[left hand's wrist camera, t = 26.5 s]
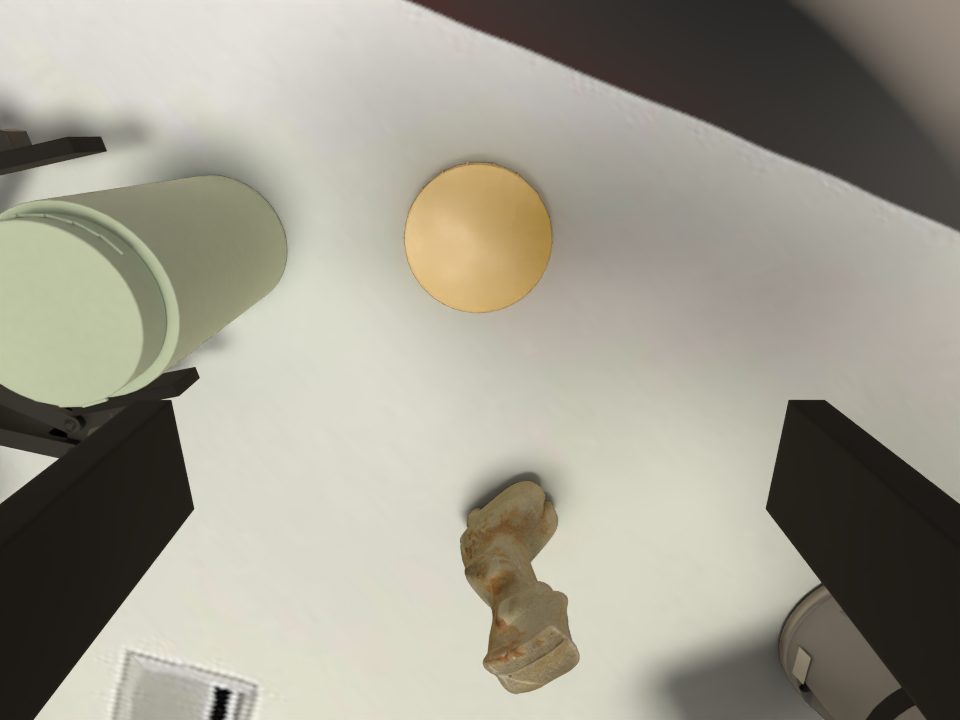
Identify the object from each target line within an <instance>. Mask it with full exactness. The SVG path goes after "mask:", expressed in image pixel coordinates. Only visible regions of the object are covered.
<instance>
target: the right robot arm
mask: <svg viewBox="0 0 960 720" xmlns="http://www.w3.org/2000/svg"><path fill="white" fill-rule="evenodd" d="M106 151H107V150H106V148H105V145H104V143H103V140H102V138H101V137H65V138H61V139H57V140H52V141H48V142H44V143H39V144H35V145H32V144H31V141H30V139H29V137H28V135H27V133H26V131H22V130H16V129H0V175H4V174H8V173H13V172H17V171H22V170H26V169H31V168H35V167H39V166H44V165H48V164H53V163H57V162H61V161H66V160H70V159H75V158H79V157H84V156H88V155H92V154H97V153H101V152H106ZM199 378H200V377H199V375H198V372H197V370H196V368H195V367H193V368H188V369H183V370H178V371H173V372H167V373H163V374H161V375H160V376H159V377H157V378H156V379H155V380H153V381H152V382H151V383H149V384H148V385H146V386H145V387H143V388H141V389H139V390H137V391H134V392H131V393H128V394H125V395H120V396H115V397H107V398H108V399H109V400H108V401H106V402H102V403H99V404H95V405H91V406H88V407H84V408H83V407H59V406H58V405H53V404H47V403H42V402H37V401H34V400H32V399H30V398H27V397H25V396H22V395H20V394H18V393H16V392H14V391H12V390H10V389H8V388H6V387H5V386H3V385H2V384H0V445H1V446H5V447H10V448H15V449H19V450H24V451H28V452H33V453H37V454H42V455H47V456H51V457H56V458H61V457H62V456H63V455H65V454H66V453H67V452H68V451H70V450H71V449H72V448H74V447H75V446H76V445H77V444H79V443H80V442H81V441H83V440H84V439H85V438H87V437H88V436H89V435H90V434H92V433H93V432H94V431H96V430H97V429H98V428H100V427H101V426H102V425H103V424H105V423H106V422H107V421H109V420H110V419H111V418H112V417H114V416H115V415H116V414H118V413H119V412H120V411H122V410H123V409H124V408H125V407H127V406H128V405H129V404H131V403H132V402H133V401H135V400H161V399H167V398H172V397H177V396H180V395H181V394H182V393H183V392H184V391H185V390H187V389H188V388H189V387H190V386H191V385H192V384H193V383H195V382H196V381H197V380H198V379H199Z"/></svg>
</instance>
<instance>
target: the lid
mask: <svg viewBox="0 0 960 720" xmlns="http://www.w3.org/2000/svg"><path fill="white" fill-rule="evenodd" d="M549 218H550V216H549V215H548V213H547V210H546V208H545V206H544V204H543V202H542V200H541V199H540V197H539V196H538V192H537V191H536V190H535V191H534V189H533V188H532V187H531V186H530V185H529V184H528V183H527V182H526V181H525V180H524V179H523V178H521V177H520V176H519V174H518V173H517V172H516V173H514V172H512V171H510V170H508V169H506V168H504V167H501V166H498V165H495V164H494V163H492V164H489V163H468V162H466V164H462V165H458V166H455V167H453V168H450V169H448V170H446V171H444V170H443V171H442V172H441V174H439V175H438V176H437V177H435V178H434V179H433V180H432V181H431V182H430V183H429V184H428V185H426V186H425V187H423V188H422V189H421V192H420V193H419V195H418V196H417V198H416V199H415V201H414V203H413V204H412V207H411V209H410V211H409V212H408V217H407V221H406V226H405V234H404V243H405V251H406V256H407V260H408V263H409V265H410V268H411V270H412V272H413V274H414V276H415V278H416V279H417V281H418V282H419V283H420V285H421V286H422V287H423V288H424V289H425V290H426V291H427V292H428V293H429V294H430V295H431V296H432V297H434V298H435V299H436V300H438V301H439V302H441V303H443V304H444V305H447V306H449V307H451V308H454V309H457V310H460V311H465V312H474V313H483V312H491V311H496V310H500V309H503V308H505V307H508V306H510V305H512V304H514V303H516V302H517V301H519V300H520V299H522V298H523V297H524V296H525V295H527V294H528V293H529V292H530V291H531V290H532V289H533V288H534V286H535V285H536V284H537V283H538V281H539V280H540V278H541V277H542V275H543V273H544V271H545V269H546V266H547V264H548V261H549V257H550V253H551V246H552V230H551V224H550V220H549Z"/></svg>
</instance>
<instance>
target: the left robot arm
mask: <svg viewBox="0 0 960 720" xmlns="http://www.w3.org/2000/svg"><path fill="white" fill-rule="evenodd" d="M193 510H194V505H193V501H192V496H191V491H190V486H189V482H188V477H187V472H186V467H185V463H184V458H183V453H182V449H181V444H180V439H179V434H178V430H177V425H176V420H175V415H174V411H173V406H172V401H171V400H135V401H133V402H132V403H131V404H129V405H128V406H127V407H125V408H124V409H123V410H122V411H120V412H119V413H118V414H116V415H115V416H114V417H112V418H111V419H110V420H109V421H107V422H106V423H105V424H103V425H102V426H101V427H100V428H98V429H97V430H96V431H94V432H93V433H92V434H90V435H89V436H88V437H87V438H85V439H84V440H83V441H81V442H80V443H79V444H77V445H76V446H75V447H74V448H72V449H71V450H70V451H68V452H67V453H66V454H65V455H63V456H62V457H61V458H59V459H58V460H57V461H55V462H54V463H53V464H52V465H50V466H49V467H48V468H46V469H45V470H44V471H42V472H41V473H40V474H39V475H37V476H36V477H35V478H33V479H32V480H31V481H30V482H28V483H27V484H26V485H24V486H23V487H22V488H20V489H19V490H18V491H17V492H15V493H14V494H13V495H11V496H10V497H9V498H7V499H6V500H5V501H4V502H2V503H1V504H0V720H34V718H35V717H36V716H37V715H38V713H39V712H40V711H41V709H42V708H43V707H44V705H45V704H46V703H47V701H48V700H49V699H50V697H51V696H52V695H53V694H54V692H55V691H56V690H57V688H58V687H59V686H60V684H61V683H62V682H63V680H64V679H65V678H66V676H67V675H68V674H69V673H70V671H71V670H72V669H73V667H74V666H75V665H76V663H77V662H78V661H79V659H80V658H81V657H82V656H83V654H84V653H85V652H86V650H87V649H88V648H89V646H90V645H91V644H92V642H93V641H94V640H95V638H96V637H97V636H98V635H99V633H100V632H101V631H102V629H103V628H104V627H105V625H106V624H107V623H108V621H109V620H110V619H111V617H112V616H113V615H114V614H115V612H116V611H117V610H118V608H119V607H120V606H121V604H122V603H123V602H124V600H125V599H126V598H127V596H128V595H129V594H130V593H131V591H132V590H133V589H134V587H135V586H136V585H137V583H138V582H139V581H140V579H141V578H142V577H143V575H144V574H145V573H146V572H147V570H148V569H149V568H150V566H151V565H152V564H153V562H154V561H155V560H156V558H157V557H158V556H159V555H160V553H161V552H162V551H163V549H164V548H165V547H166V545H167V544H168V543H169V541H170V540H171V539H172V537H173V536H174V535H175V534H176V532H177V531H178V530H179V528H180V527H181V526H182V524H183V523H184V522H185V520H186V519H187V518H188V516H189V515H190V514H191V513H192V511H193ZM766 510H767V511H768V513H769V514H770V515H771V516H772V518H773V519H774V520H775V522H776V523H777V524H778V526H779V527H780V528H781V530H782V531H783V532H784V534H785V535H786V536H787V537H788V539H789V540H790V541H791V543H792V544H793V545H794V547H795V548H796V549H797V551H798V552H799V553H800V555H801V556H802V557H803V558H804V560H805V561H806V562H807V564H808V565H809V566H810V568H811V569H812V570H813V572H814V573H815V574H816V575H817V577H818V578H819V579H820V581H821V582H822V583H823V586H821V587H820V588H818V589H817V590H815V591H814V592H813V593H811V594H810V595H809V596H808V597H806V598H805V599H804V600H803V601H802V602H801V603H800V604H799V605H798V606H797V607H796V609H795V610H794V611H793V612H792V614H791V615H790V617H789V618H788V620H787V622H786V624H785V626H784V628H783V630H782V633H781V637H780V641H779V656H780V661H781V664H782V667H783V669H784V671H785V673H786V674H787V676H788V678H789V680H790V681H791V683H792V685H793V686H794V688H795V689H796V690H797V691H798V693H799V694H800V695H801V697H802V698H803V699H804V700H805V701H806V702H807V703H808V704H809V705H810V706H811V707H812V708H813V709H814V710H815V711H816V712H817V713H818V714H819V715H821V716H822V717H823V718H824V719H825V720H960V504H959V503H958V502H956V501H955V500H954V499H953V498H951V497H950V496H949V495H947V494H946V493H945V492H943V491H942V490H941V489H940V488H938V487H937V486H936V485H934V484H933V483H932V482H930V481H929V480H928V479H927V478H925V477H924V476H923V475H921V474H920V473H919V472H918V471H916V470H915V469H914V468H912V467H911V466H910V465H908V464H907V463H906V462H905V461H903V460H902V459H901V458H899V457H898V456H897V455H895V454H894V453H893V452H892V451H890V450H889V449H888V448H886V447H885V446H884V445H883V444H881V443H880V442H879V441H877V440H876V439H875V438H873V437H872V436H871V435H870V434H868V433H867V432H866V431H864V430H863V429H862V428H860V427H859V426H858V425H857V424H855V423H854V422H853V421H851V420H850V419H849V418H847V417H846V416H845V415H844V414H842V413H841V412H840V411H838V410H837V409H836V408H835V407H833V406H832V405H831V404H829V403H828V402H827V401H825V400H789V401H788V406H787V411H786V415H785V420H784V425H783V430H782V434H781V439H780V444H779V449H778V453H777V458H776V463H775V467H774V472H773V477H772V482H771V486H770V491H769V496H768V501H767V505H766Z"/></svg>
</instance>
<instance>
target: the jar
mask: <svg viewBox="0 0 960 720" xmlns="http://www.w3.org/2000/svg"><path fill="white" fill-rule="evenodd" d="M286 260H287V243H286V237H285V233H284V230H283V227H282V225H281V222H280V220H279V218H278V216H277V215H276V213H275V211H274V210H273V208H272V207H271V206H270V205H269V203H268V202H267V201H266V200H265V199H264V198H263V197H262V196H261V195H260V194H258V193H257V192H256V191H255V190H254V189H252V188H250V187H249V186H247V185H246V184H243V183H241V182H239V181H237V180H234V179H231V178H228V177H223V176H217V175H204V176H196V177H189V178H183V179H176V180H169V181H163V182H156V183H149V184H143V185H136V186H129V187H123V188H116V189H109V190H103V191H96V192H89V193H83V194H76V195H69V196H62V197H56V198H49V199H42V200H36V201H31V202H27V203H22V204H19V205H17V206H14V207H12V208H9V209H8V210H6V211H4V212H3V213H1V214H0V384H2V385H3V386H5V387H6V388H8V389H10V390H12V391H14V392H16V393H18V394H20V395H22V396H25V397H27V398H30V399H32V400H34V401H37V402H42V403H47V404H53V405H58V406H59V407H83V408H84V407H88V406H91V405H95V404H99V403H102V402H106V401H108V400H109V399H108V398H107V397H115V396H120V395H125V394H128V393H131V392H134V391H137V390H139V389H141V388H143V387H145V386H146V385H148V384H149V383H151V382H152V381H153V380H155V379H156V378H157V377H159V376H160V375H161V374H163V373H164V372H165V371H167V370H168V369H169V368H171V367H172V366H173V365H175V364H176V363H177V362H179V361H180V360H181V359H183V358H184V357H185V356H187V355H188V354H189V353H191V352H192V351H193V350H195V349H196V348H197V347H198V346H200V345H201V344H202V343H204V342H205V341H206V340H208V339H209V338H210V337H212V336H213V335H214V334H216V333H217V332H218V331H220V330H221V329H222V328H224V327H225V326H226V325H228V324H229V323H230V322H232V321H233V320H234V319H236V318H237V317H238V316H240V315H241V314H242V313H243V312H245V311H246V310H247V309H249V308H250V307H251V306H253V305H254V304H255V303H257V302H258V301H259V300H261V299H262V298H263V297H265V296H266V295H267V294H269V293H270V292H271V291H272V290H273V289H274V287H275V286H276V285H277V283H278V282H279V280H280V278H281V276H282V274H283V272H284V269H285V265H286Z"/></svg>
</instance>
